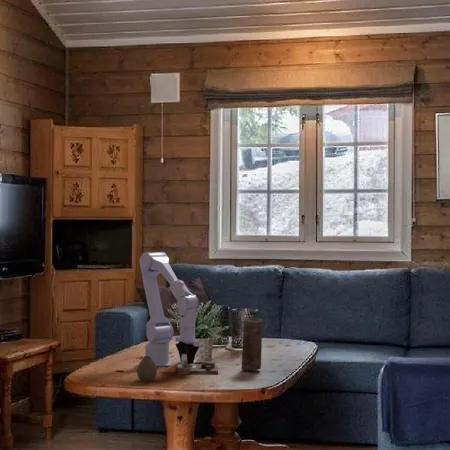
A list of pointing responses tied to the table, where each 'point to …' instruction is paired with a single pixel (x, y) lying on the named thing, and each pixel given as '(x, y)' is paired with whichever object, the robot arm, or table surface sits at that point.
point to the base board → (199, 368)
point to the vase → (146, 369)
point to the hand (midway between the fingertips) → (186, 362)
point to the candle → (252, 344)
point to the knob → (185, 360)
